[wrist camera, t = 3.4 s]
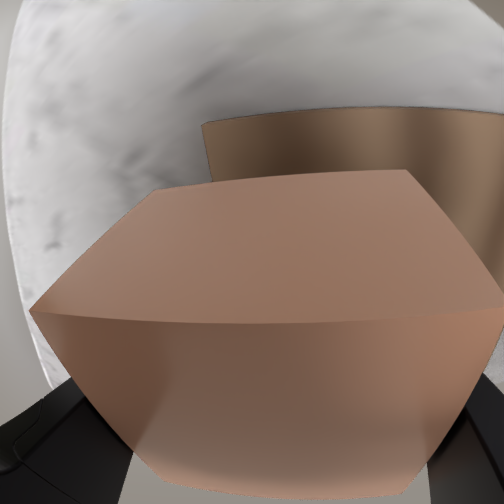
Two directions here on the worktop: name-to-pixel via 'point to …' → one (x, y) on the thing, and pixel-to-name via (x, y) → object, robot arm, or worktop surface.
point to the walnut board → (382, 158)
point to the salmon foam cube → (279, 332)
